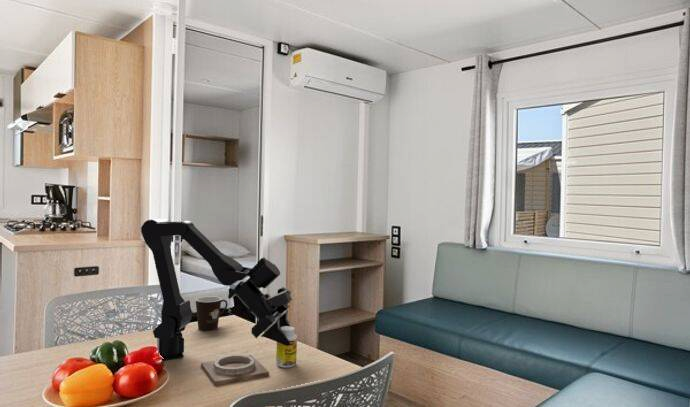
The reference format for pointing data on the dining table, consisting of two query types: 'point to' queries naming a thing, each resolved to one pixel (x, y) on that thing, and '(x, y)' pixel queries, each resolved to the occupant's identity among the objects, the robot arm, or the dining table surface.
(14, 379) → the dining table surface
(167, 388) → the dining table surface
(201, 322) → the coffee mug
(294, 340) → the supplement bottle
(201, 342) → the dining table surface
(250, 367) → the ring stand
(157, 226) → the robot arm
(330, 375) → the dining table surface
